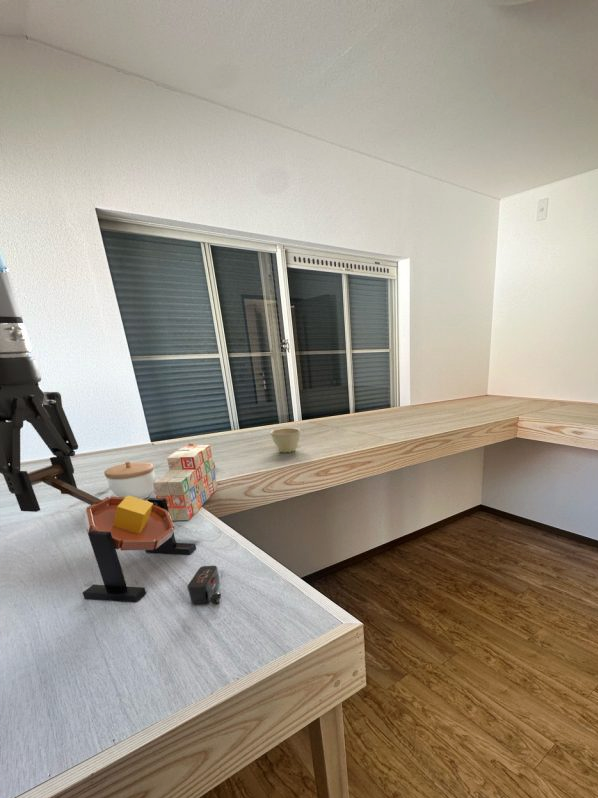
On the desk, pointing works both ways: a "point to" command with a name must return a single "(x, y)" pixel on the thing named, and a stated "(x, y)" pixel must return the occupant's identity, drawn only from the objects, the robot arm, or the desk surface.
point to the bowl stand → (112, 568)
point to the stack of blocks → (187, 481)
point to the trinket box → (131, 479)
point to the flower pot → (286, 439)
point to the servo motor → (204, 586)
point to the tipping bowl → (111, 514)
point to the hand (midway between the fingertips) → (51, 501)
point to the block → (132, 514)
